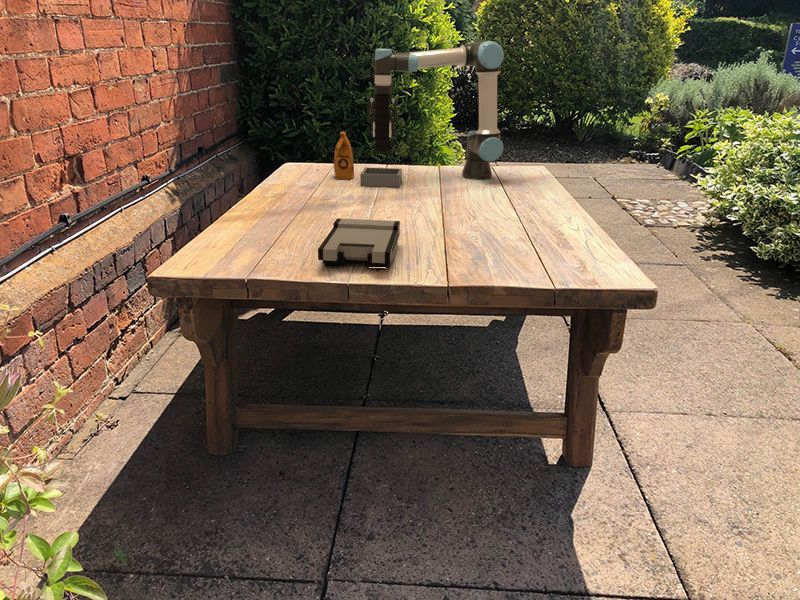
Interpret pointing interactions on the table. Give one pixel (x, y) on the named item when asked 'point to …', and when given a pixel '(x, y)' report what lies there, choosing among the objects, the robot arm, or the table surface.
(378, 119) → the black upright pillar
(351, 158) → the coffee package
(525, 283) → the table surface
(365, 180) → the box
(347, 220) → the office tray
